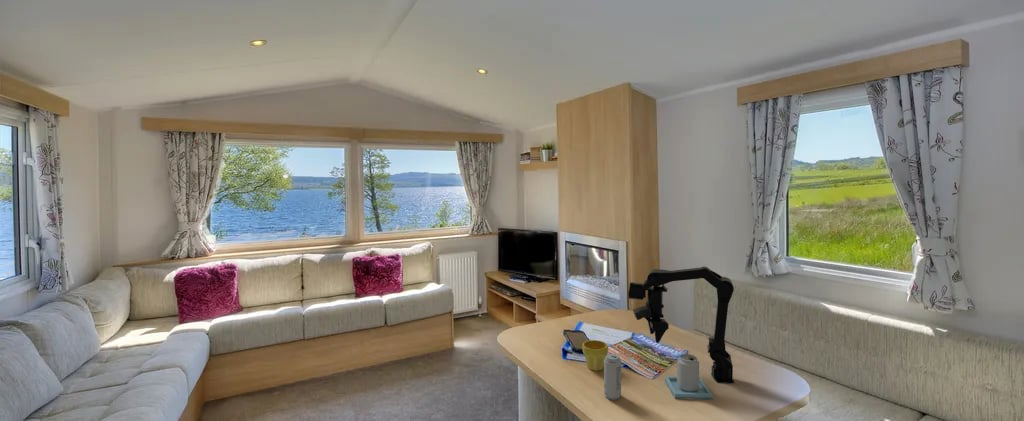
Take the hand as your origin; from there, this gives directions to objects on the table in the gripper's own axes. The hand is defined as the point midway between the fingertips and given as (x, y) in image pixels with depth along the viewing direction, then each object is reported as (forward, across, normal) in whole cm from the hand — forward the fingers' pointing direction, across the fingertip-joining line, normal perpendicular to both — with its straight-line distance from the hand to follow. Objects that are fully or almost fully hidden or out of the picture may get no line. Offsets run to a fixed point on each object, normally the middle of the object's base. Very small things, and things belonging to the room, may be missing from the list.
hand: (654, 338), depth 175 cm
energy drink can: (+13, +23, -20) cm, 33 cm away
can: (+12, +17, +8) cm, 23 cm away
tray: (+13, +17, +8) cm, 23 cm away
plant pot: (+13, 0, -24) cm, 27 cm away
